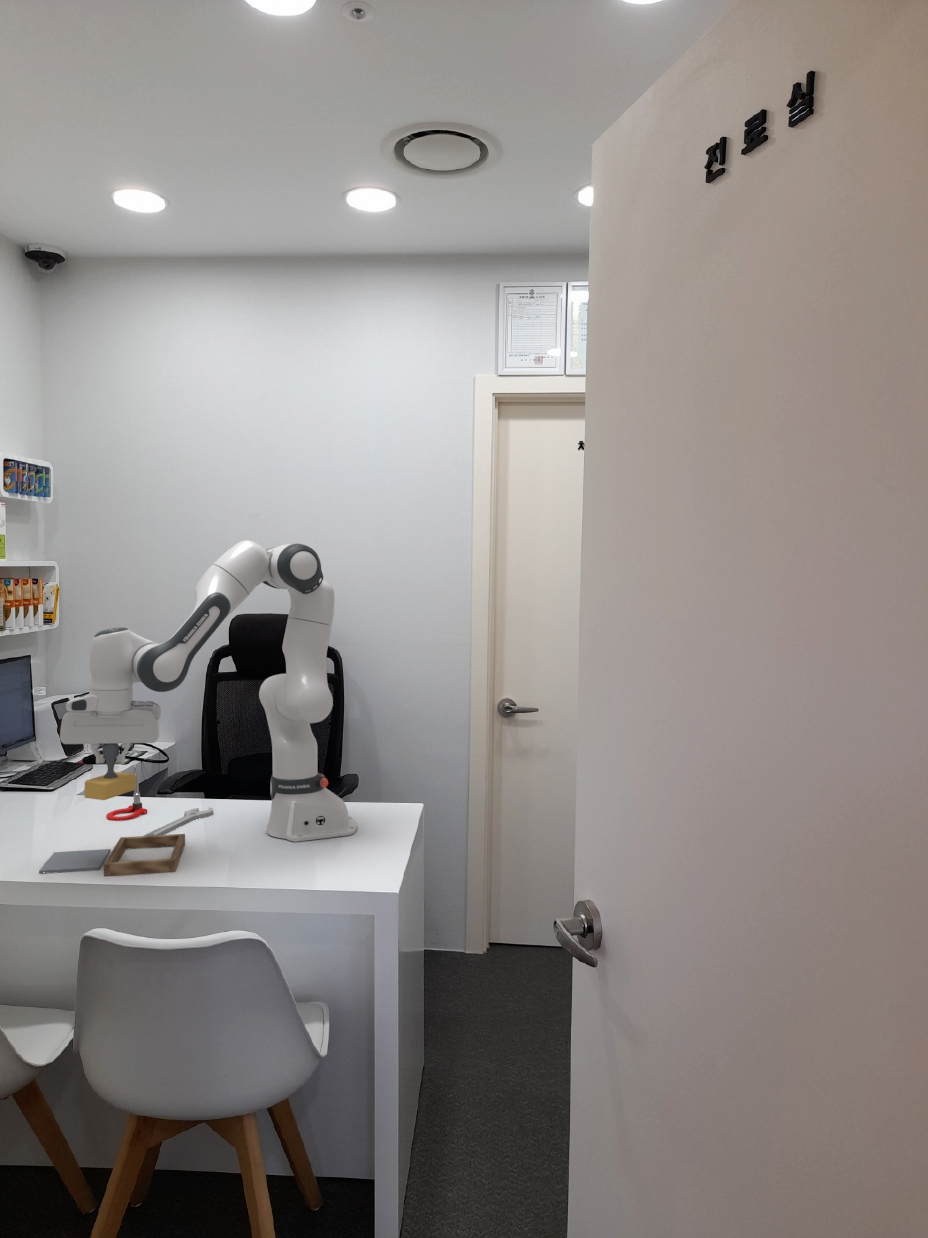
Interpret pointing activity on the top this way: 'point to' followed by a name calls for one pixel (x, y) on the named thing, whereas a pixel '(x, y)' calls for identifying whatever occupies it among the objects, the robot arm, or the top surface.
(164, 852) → the top surface
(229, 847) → the top surface
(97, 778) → the rubber stamp
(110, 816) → the tow hook
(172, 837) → the wooden frame
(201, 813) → the adjustable wrench
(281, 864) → the top surface
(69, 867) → the slate mat
